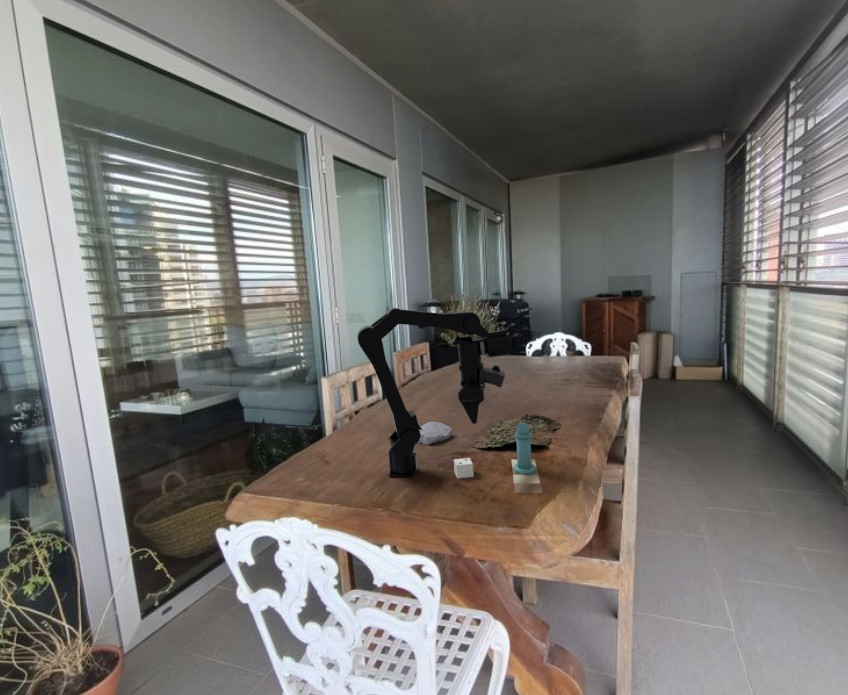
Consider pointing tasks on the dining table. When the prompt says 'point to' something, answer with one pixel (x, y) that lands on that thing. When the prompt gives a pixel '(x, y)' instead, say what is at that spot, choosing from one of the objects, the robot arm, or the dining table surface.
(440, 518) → the dining table surface
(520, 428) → the pawn
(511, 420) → the terrain model
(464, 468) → the die
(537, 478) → the board
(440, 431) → the stone block
